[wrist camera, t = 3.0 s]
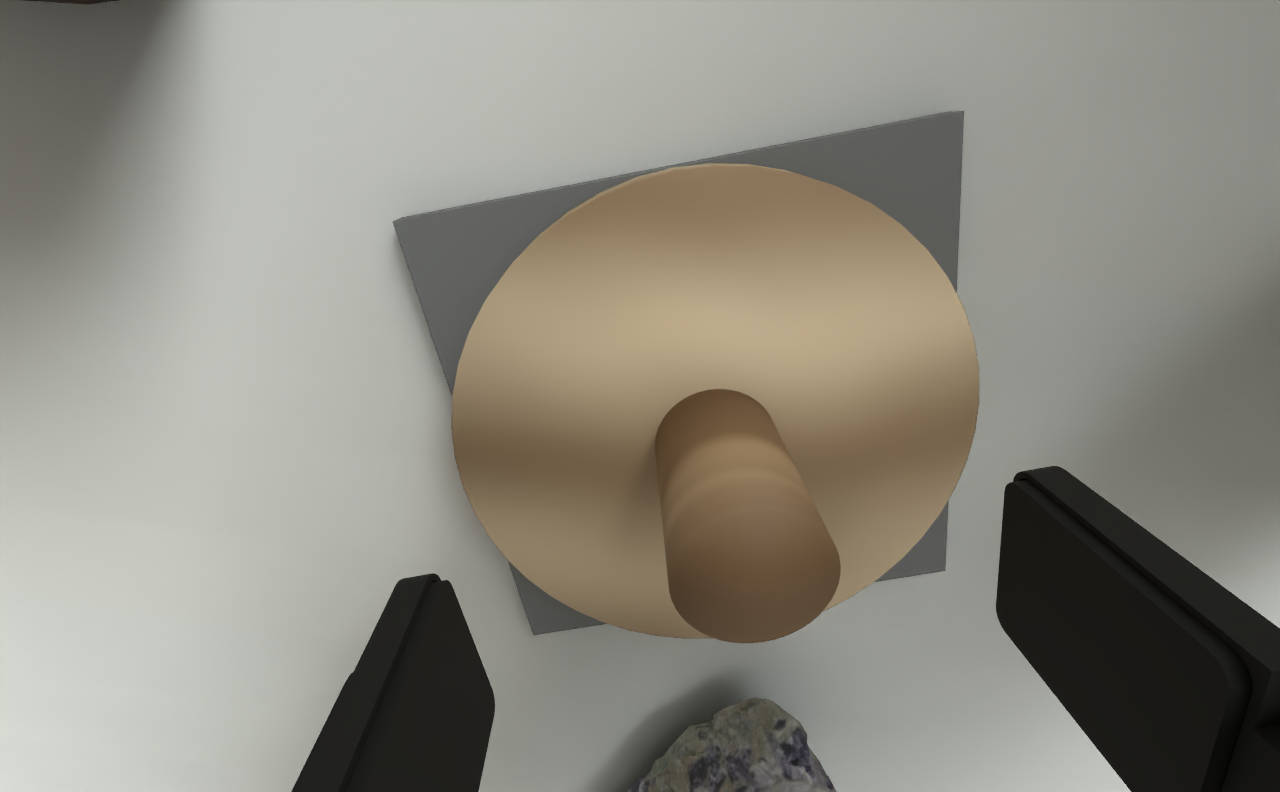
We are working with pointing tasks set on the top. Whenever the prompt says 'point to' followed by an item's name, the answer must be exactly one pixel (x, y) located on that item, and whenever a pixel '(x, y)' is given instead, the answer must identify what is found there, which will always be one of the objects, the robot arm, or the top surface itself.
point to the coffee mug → (76, 1)
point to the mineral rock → (739, 755)
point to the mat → (854, 161)
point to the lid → (715, 402)
